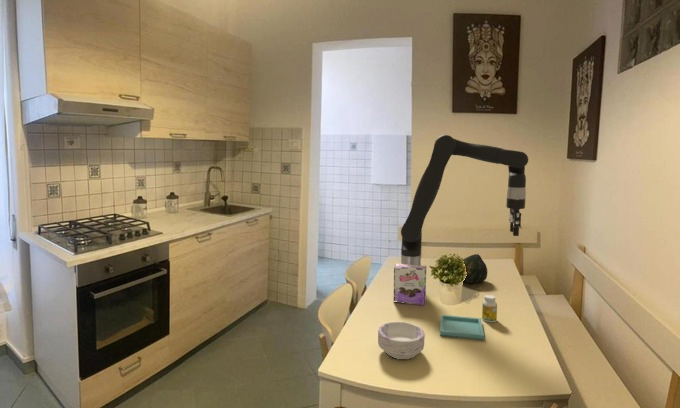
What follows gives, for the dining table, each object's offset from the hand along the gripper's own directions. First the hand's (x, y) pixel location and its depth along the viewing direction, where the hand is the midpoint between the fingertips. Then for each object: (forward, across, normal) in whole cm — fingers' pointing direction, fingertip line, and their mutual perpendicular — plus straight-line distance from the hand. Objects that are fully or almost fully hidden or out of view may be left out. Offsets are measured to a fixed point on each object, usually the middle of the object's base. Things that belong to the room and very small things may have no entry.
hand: (514, 233), depth 181 cm
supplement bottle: (+30, +28, -12) cm, 42 cm away
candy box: (+30, +16, -44) cm, 55 cm away
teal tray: (+29, +39, -23) cm, 54 cm away
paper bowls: (+30, +62, -43) cm, 81 cm away
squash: (+30, -19, -16) cm, 38 cm away
